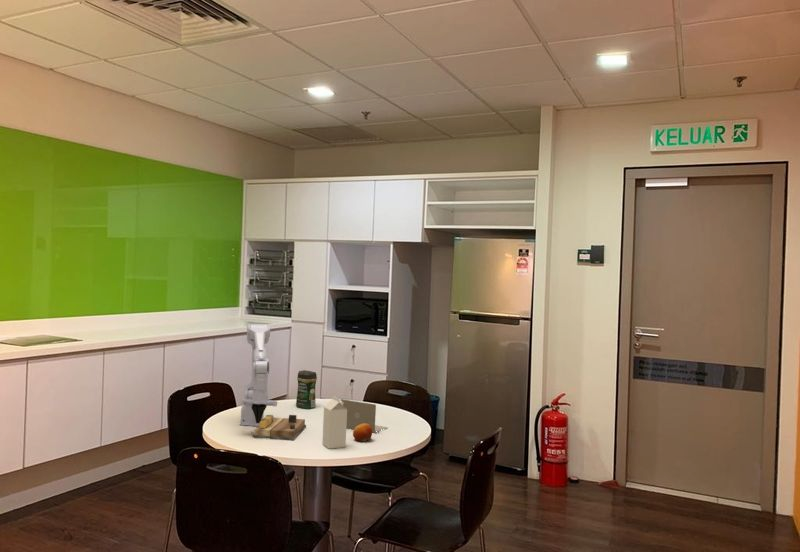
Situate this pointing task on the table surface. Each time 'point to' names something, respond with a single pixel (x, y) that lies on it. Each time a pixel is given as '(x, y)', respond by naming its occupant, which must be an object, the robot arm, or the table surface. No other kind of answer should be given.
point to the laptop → (361, 415)
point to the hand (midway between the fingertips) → (258, 422)
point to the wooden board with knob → (281, 429)
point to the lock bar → (266, 421)
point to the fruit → (362, 432)
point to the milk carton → (334, 424)
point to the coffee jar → (306, 389)
